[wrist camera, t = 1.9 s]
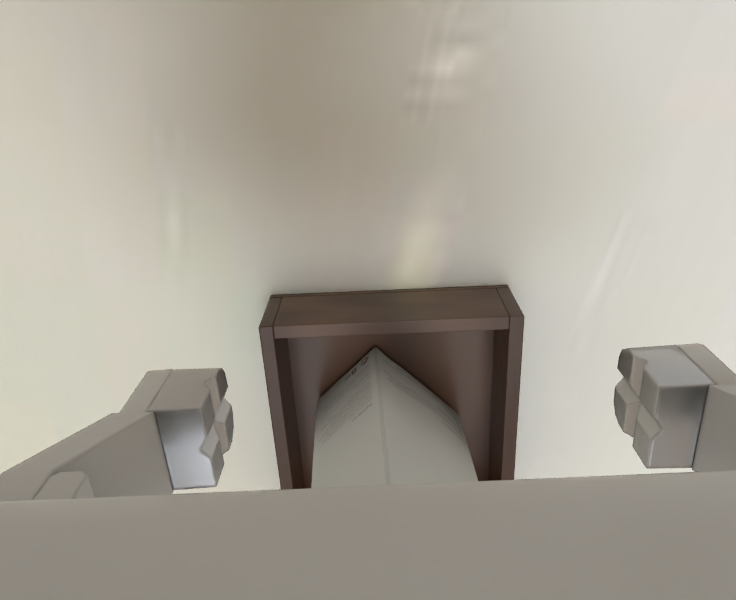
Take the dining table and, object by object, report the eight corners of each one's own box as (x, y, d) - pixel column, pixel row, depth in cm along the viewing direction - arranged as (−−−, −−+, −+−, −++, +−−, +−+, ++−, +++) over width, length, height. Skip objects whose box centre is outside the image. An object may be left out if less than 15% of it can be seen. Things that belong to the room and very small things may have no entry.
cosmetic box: (315, 398, 40) (287, 588, 26) (378, 339, 38) (383, 511, 24) (406, 467, 42) (423, 676, 28) (469, 415, 40) (520, 611, 27)
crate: (296, 502, 44) (289, 550, 40) (270, 294, 37) (258, 326, 33) (497, 495, 43) (510, 543, 39) (507, 284, 37) (524, 315, 33)
